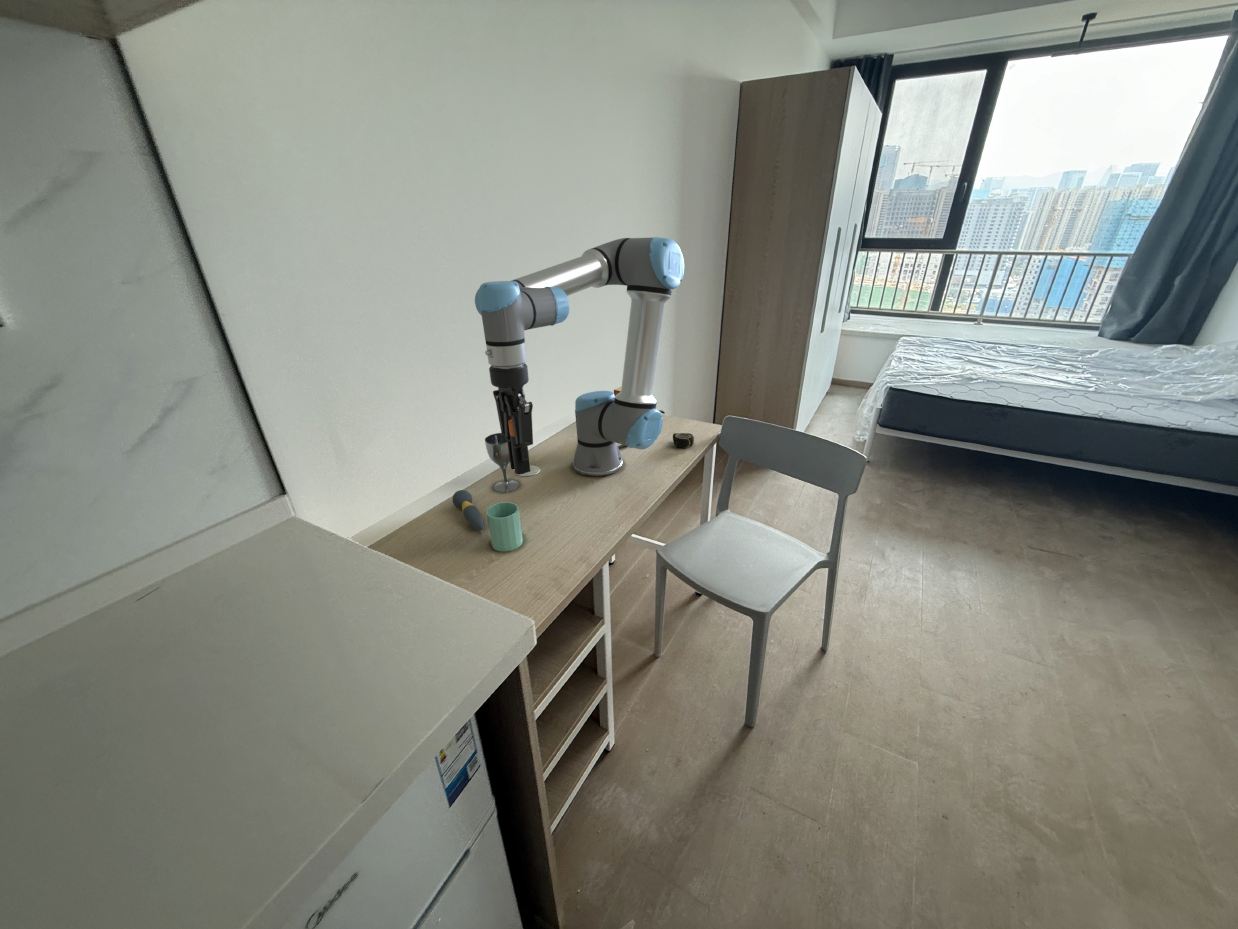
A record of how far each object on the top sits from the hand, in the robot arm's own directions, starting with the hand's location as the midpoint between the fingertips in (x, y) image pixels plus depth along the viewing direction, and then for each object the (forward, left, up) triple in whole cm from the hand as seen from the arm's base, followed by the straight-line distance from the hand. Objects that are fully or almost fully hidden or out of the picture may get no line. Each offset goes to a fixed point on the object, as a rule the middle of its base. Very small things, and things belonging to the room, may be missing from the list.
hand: (520, 469), depth 107 cm
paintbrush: (+7, -20, -19) cm, 28 cm away
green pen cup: (+4, -3, -19) cm, 19 cm away
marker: (0, 0, -1) cm, 1 cm away
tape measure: (-66, -17, -19) cm, 71 cm away
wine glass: (-8, -29, -19) cm, 35 cm away
